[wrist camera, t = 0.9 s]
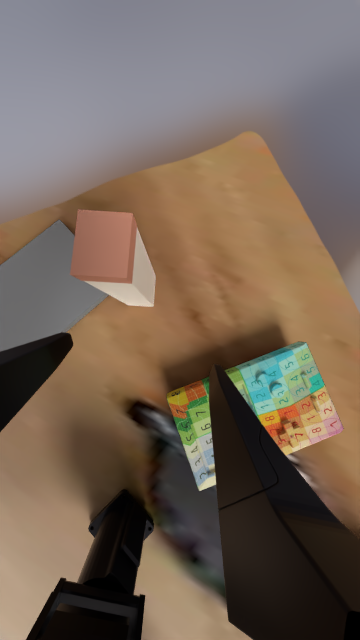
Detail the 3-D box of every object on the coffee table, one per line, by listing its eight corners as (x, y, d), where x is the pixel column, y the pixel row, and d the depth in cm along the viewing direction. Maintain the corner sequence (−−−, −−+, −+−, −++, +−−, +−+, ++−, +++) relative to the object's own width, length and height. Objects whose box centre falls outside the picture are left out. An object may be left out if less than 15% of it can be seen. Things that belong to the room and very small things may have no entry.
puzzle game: (353, 433, 17) (200, 500, 16) (314, 411, 22) (195, 462, 21) (313, 342, 18) (165, 401, 17) (284, 340, 22) (168, 385, 21)
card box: (153, 307, 22) (126, 278, 10) (128, 305, 22) (69, 274, 10) (156, 276, 22) (132, 213, 11) (130, 274, 22) (78, 209, 10)
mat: (-4, 392, 20) (-14, 395, 19) (-61, 322, 21) (-73, 322, 20) (120, 285, 22) (117, 283, 21) (64, 224, 23) (59, 219, 22)
